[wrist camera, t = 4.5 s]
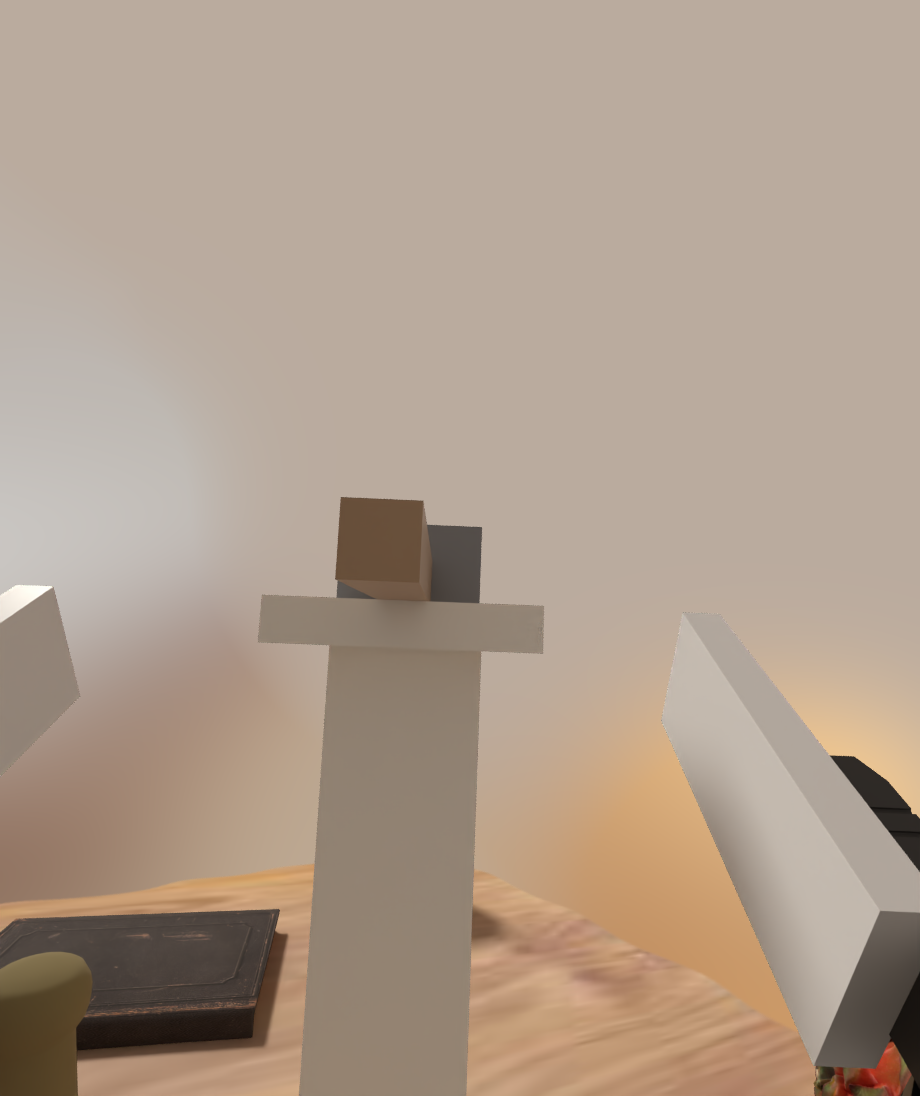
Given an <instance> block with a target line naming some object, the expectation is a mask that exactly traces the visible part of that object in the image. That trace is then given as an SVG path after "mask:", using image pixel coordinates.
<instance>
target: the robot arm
mask: <svg viewBox="0 0 920 1096" xmlns="http://www.w3.org/2000/svg"><path fill="white" fill-rule="evenodd" d="M79 697H80V693H79V689H78V685H77V681H76V677H75V673H74V669H73V664H72V660H71V656H70V652H69V648H68V644H67V640H66V636H65V632H64V628H63V624H62V620H61V616H60V611H59V607H58V603H57V599H56V595H55V591H54V587H53V586H28V585H16V586H15V587H13V588H11V589H10V590H8V591H7V592H5V593H3V594H2V595H0V777H1V776H2V775H3V774H4V773H5V772H6V770H8V768H10V767H11V765H13V764H14V763H15V762H16V760H18V758H20V757H21V756H22V754H24V752H25V751H27V749H28V748H29V747H30V746H31V745H32V744H33V743H34V742H35V741H36V740H37V739H38V738H39V737H40V736H41V735H42V734H43V733H44V732H45V731H46V730H47V729H48V728H49V727H50V726H51V725H52V724H53V723H54V722H55V721H56V720H57V719H58V718H59V717H60V716H61V715H62V714H63V713H64V712H65V711H66V710H67V709H68V708H69V707H70V706H71V705H72V704H73V703H74V701H76V700H77V699H78V698H79ZM661 721H662V724H663V726H664V728H665V730H666V733H667V735H668V737H669V739H670V742H671V744H672V746H673V749H674V751H675V753H676V755H677V757H678V760H679V762H680V764H681V767H682V768H683V771H684V773H685V776H686V778H687V780H688V782H689V785H690V787H691V789H692V791H693V794H694V796H695V798H696V800H697V803H698V805H699V807H700V809H701V812H702V814H703V816H704V819H705V821H706V823H707V826H708V828H709V830H710V832H711V835H712V837H713V839H714V841H715V844H716V846H717V848H718V850H719V852H720V855H721V857H722V859H723V862H724V864H725V866H726V869H727V871H728V873H729V875H730V878H731V880H732V882H733V884H734V886H735V889H736V891H737V893H738V896H739V898H740V900H741V903H742V905H743V907H744V909H745V912H746V914H747V916H748V918H749V921H750V923H751V925H752V927H753V930H754V932H755V934H756V936H757V938H758V941H759V943H760V946H761V948H762V950H763V952H764V954H765V957H766V959H767V961H768V964H769V966H770V968H771V970H772V973H773V975H774V977H775V980H776V982H777V984H778V986H779V988H780V991H781V993H782V995H783V998H784V1000H785V1002H786V1004H787V1007H788V1009H789V1011H790V1013H791V1016H792V1018H793V1020H794V1023H795V1025H796V1027H797V1029H798V1032H799V1034H800V1036H801V1038H802V1041H803V1043H804V1045H805V1047H806V1050H807V1052H808V1054H809V1057H810V1059H811V1061H812V1063H813V1066H827V1067H848V1068H870V1069H876V1067H877V1065H878V1063H879V1061H880V1059H881V1057H882V1055H883V1053H884V1051H885V1049H886V1047H887V1045H888V1043H889V1041H890V1039H892V1041H893V1042H894V1044H895V1046H896V1048H897V1049H898V1051H899V1053H900V1055H901V1057H902V1058H903V1060H904V1062H905V1064H906V1065H907V1067H908V1069H909V1071H910V1073H911V1074H912V1075H911V1077H910V1079H909V1081H908V1082H907V1084H906V1086H905V1088H904V1090H903V1092H902V1094H901V1095H900V1096H920V818H919V817H918V816H917V815H916V814H912V813H911V808H910V807H909V806H908V804H907V803H906V802H905V801H904V800H903V799H902V797H901V796H900V795H899V794H898V793H897V792H896V790H895V789H894V788H893V787H892V786H891V784H890V783H889V782H888V781H887V780H886V779H884V778H883V777H881V776H880V775H879V774H877V773H876V772H875V771H873V770H872V769H871V768H869V767H868V766H866V765H865V764H864V763H862V762H861V761H860V760H858V759H856V758H855V757H852V756H850V757H849V756H829V755H828V753H827V752H826V750H825V749H824V748H823V747H822V745H821V744H820V743H819V742H818V740H817V739H816V738H815V736H814V735H813V734H812V732H811V731H810V730H809V729H808V727H807V726H806V725H805V723H804V722H803V721H802V720H801V718H800V717H799V716H798V714H797V713H796V712H795V711H794V709H793V708H792V707H791V705H790V704H789V703H788V702H787V700H786V699H785V698H784V696H783V695H782V694H781V692H780V691H779V690H778V689H777V687H776V686H775V685H774V683H773V682H772V681H771V680H770V679H769V677H768V676H767V674H766V673H765V672H764V671H763V669H762V668H761V667H760V665H759V664H758V663H757V661H756V660H755V659H754V658H753V656H752V655H751V654H750V652H749V651H748V650H747V649H746V647H745V646H744V645H743V644H742V642H741V641H740V640H739V638H738V637H737V636H736V634H735V633H734V632H733V631H732V629H731V628H730V627H729V625H728V624H727V623H726V622H725V620H724V619H723V618H722V616H721V615H720V614H708V613H707V614H706V613H684V612H683V613H682V618H681V624H680V629H679V634H678V639H677V644H676V649H675V654H674V659H673V664H672V669H671V674H670V680H669V685H668V689H667V694H666V699H665V705H664V710H663V715H662V720H661Z"/></svg>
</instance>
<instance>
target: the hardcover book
mask: <svg viewBox="0 0 920 1096" xmlns="http://www.w3.org/2000/svg"><path fill="white" fill-rule="evenodd" d="M279 911H280V910H279V909H272V910H245V911H217V912H190V913H162V914H135V915H108V916H80V917H53V918H25V919H15V920H14V921H13V922H12V923H10V924H9V925H8V926H7V927H6V928H5V929H4V930H2V931H1V932H0V969H2V968H3V967H5V966H7V965H8V964H10V963H12V962H15V961H17V960H19V959H22V958H25V957H28V956H32V955H35V954H41V953H47V952H66V953H72V954H75V955H77V956H80V957H82V958H83V959H84V961H85V962H86V964H87V966H88V967H89V969H90V971H91V974H92V980H93V984H92V992H91V998H90V1003H89V1006H88V1008H87V1011H86V1014H85V1016H84V1017H83V1019H82V1020H81V1022H80V1023H79V1024H78V1026H77V1027H76V1047H77V1050H83V1049H98V1048H112V1047H126V1046H140V1045H154V1044H168V1043H182V1042H196V1041H211V1040H225V1039H239V1038H251V1037H252V1033H253V1020H254V1012H255V1008H256V1004H257V1000H258V996H259V992H260V988H261V984H262V980H263V976H264V972H265V968H266V964H267V960H268V956H269V952H270V948H271V944H272V940H273V936H274V932H275V928H276V924H277V920H278V916H279Z"/></svg>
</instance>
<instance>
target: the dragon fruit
mask: <svg viewBox="0 0 920 1096" xmlns="http://www.w3.org/2000/svg"><path fill="white" fill-rule="evenodd" d="M815 1069H816V1081H815V1082H814V1086H815V1087H814V1094H815V1096H900V1095H901V1094H902V1092H903V1090H904V1088H905V1086H906V1084H907V1082H908V1081H909V1079H910V1077H911V1075H912V1074H911V1073H910V1071H909V1069H908V1067H907V1065H906V1064H905V1062H904V1060H903V1058H902V1057H901V1055H900V1053H899V1051H898V1049H897V1048H896V1046H895V1044H894V1042H893V1041H892V1039H890V1041H889V1043H888V1045H887V1047H886V1049H885V1051H884V1053H883V1055H882V1057H881V1059H880V1061H879V1063H878V1065H877V1067H876V1069H870V1068H848V1067H827V1066H816V1068H815Z"/></svg>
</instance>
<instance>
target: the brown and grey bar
mask: <svg viewBox="0 0 920 1096" xmlns="http://www.w3.org/2000/svg"><path fill="white" fill-rule="evenodd" d="M481 540H482V527H464V526H463V527H462V526H440V525H427V522H426V516H425V509H424V503H423V501H416V500H393V499H369V498H347V497H341V503H340V518H339V533H338V549H337V562H336V578H335V579H336V580H338V585H337V598H355V599H381V600H406V601H432V602H457V603H479V597H480V567H481Z"/></svg>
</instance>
